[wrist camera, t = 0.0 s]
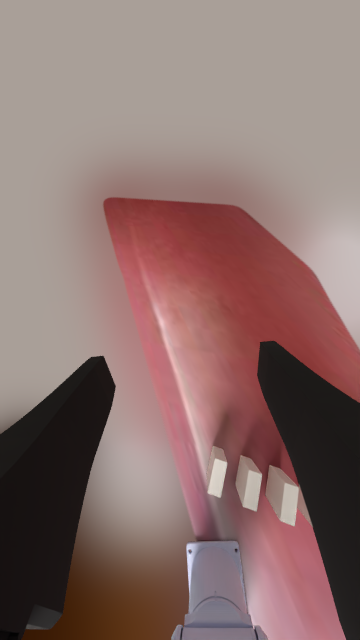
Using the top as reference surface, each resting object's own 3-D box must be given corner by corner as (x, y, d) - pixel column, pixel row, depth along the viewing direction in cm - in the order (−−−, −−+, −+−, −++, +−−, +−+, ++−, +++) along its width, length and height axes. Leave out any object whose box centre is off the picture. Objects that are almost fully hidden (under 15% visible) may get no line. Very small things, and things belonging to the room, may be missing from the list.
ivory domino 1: (222, 449, 37) (227, 462, 30) (217, 477, 36) (220, 498, 29) (212, 445, 37) (214, 458, 30) (206, 473, 36) (207, 493, 29)
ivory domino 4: (311, 479, 34) (337, 501, 28) (308, 511, 33) (335, 541, 27) (299, 475, 35) (322, 495, 28) (296, 506, 33) (319, 535, 27)
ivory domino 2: (251, 458, 36) (262, 474, 29) (246, 488, 35) (256, 511, 28) (240, 455, 36) (249, 469, 30) (235, 484, 35) (242, 506, 28)
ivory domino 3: (280, 468, 35) (298, 487, 29) (276, 499, 34) (294, 526, 27) (269, 464, 35) (285, 482, 29) (265, 495, 34) (280, 520, 28)
